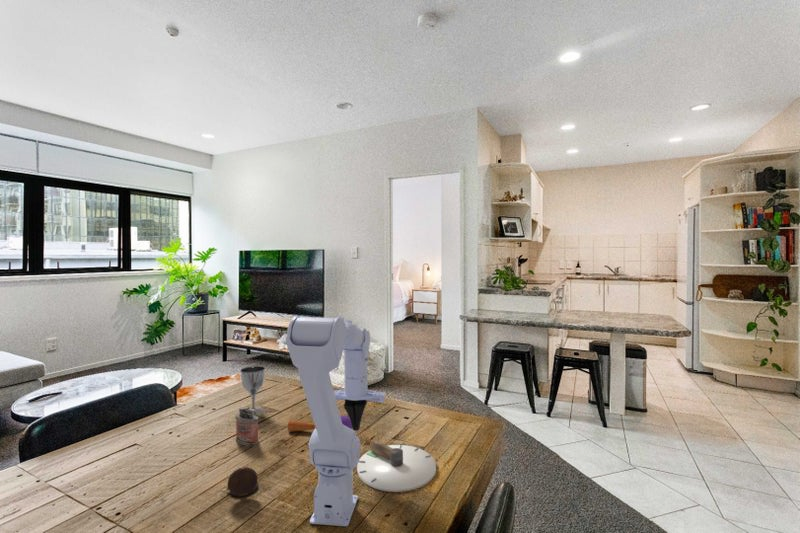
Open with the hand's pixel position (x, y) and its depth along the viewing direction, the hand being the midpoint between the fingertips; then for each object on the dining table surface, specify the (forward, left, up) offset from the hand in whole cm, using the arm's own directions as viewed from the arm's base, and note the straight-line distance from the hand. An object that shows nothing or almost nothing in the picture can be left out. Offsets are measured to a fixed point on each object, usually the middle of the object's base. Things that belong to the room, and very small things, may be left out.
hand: (356, 428), depth 97 cm
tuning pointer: (+4, -7, -9) cm, 12 cm away
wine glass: (+32, +44, -11) cm, 55 cm away
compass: (-12, +25, -11) cm, 30 cm away
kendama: (+19, +16, -11) cm, 27 cm away
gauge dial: (+2, -10, -10) cm, 15 cm away
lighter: (+11, +35, -11) cm, 38 cm away
